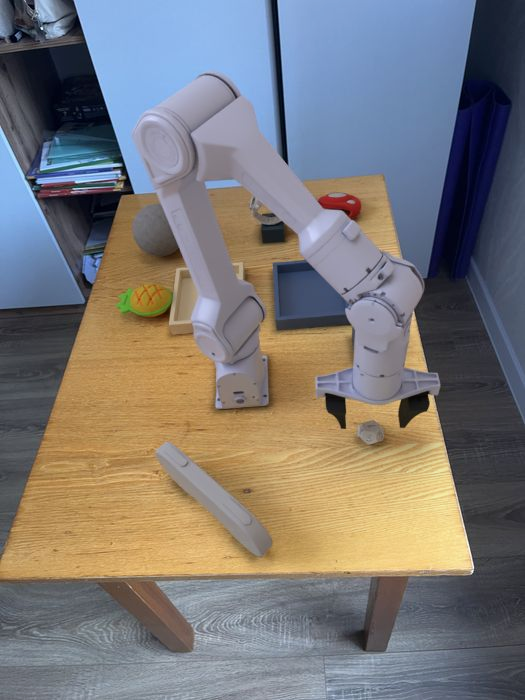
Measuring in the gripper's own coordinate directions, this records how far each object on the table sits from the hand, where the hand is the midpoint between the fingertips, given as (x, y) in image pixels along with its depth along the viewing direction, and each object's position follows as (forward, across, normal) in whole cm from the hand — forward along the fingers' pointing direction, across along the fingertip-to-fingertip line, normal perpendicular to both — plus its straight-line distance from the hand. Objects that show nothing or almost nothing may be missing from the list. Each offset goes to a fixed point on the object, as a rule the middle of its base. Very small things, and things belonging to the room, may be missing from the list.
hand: (372, 422), depth 68 cm
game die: (+4, 0, 0) cm, 4 cm away
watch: (+4, +15, -47) cm, 50 cm away
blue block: (+4, -1, -16) cm, 17 cm away
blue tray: (+4, +8, -29) cm, 30 cm away
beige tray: (+4, +26, -28) cm, 39 cm away
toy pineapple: (+4, +37, -27) cm, 46 cm away
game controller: (+4, +21, +10) cm, 24 cm away
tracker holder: (+4, +4, -54) cm, 54 cm away
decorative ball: (+4, +37, -44) cm, 57 cm away
